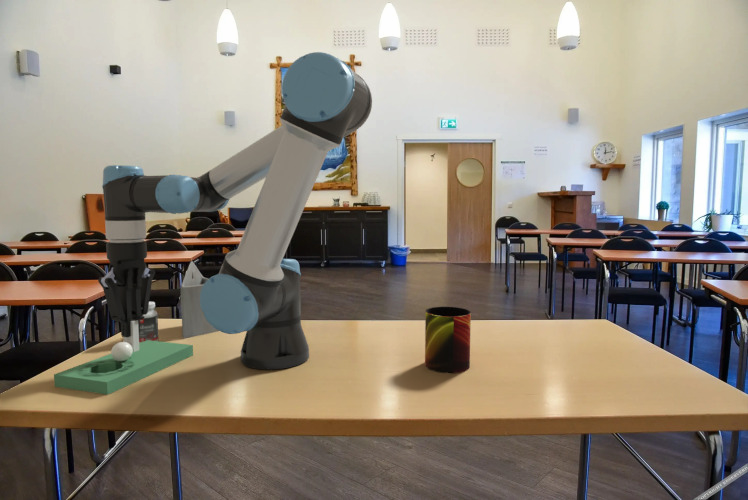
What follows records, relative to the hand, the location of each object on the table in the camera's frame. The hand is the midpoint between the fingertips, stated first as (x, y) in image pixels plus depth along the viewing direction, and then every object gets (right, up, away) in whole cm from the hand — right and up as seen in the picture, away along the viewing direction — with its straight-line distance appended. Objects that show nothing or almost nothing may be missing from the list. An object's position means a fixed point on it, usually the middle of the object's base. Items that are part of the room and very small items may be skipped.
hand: (131, 350), depth 103 cm
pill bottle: (-6, -2, +19) cm, 21 cm away
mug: (+68, -4, +4) cm, 68 cm away
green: (0, -4, -1) cm, 4 cm away
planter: (+6, -1, +30) cm, 31 cm away
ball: (-1, 0, -3) cm, 3 cm away
